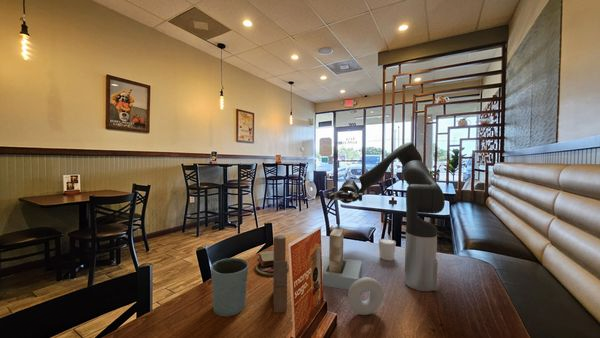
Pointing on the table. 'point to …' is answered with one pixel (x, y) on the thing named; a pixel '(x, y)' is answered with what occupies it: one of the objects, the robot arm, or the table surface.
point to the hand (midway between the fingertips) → (342, 198)
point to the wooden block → (280, 275)
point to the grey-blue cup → (229, 286)
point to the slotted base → (343, 280)
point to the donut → (372, 301)
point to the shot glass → (387, 249)
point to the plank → (336, 251)
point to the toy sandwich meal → (266, 263)
